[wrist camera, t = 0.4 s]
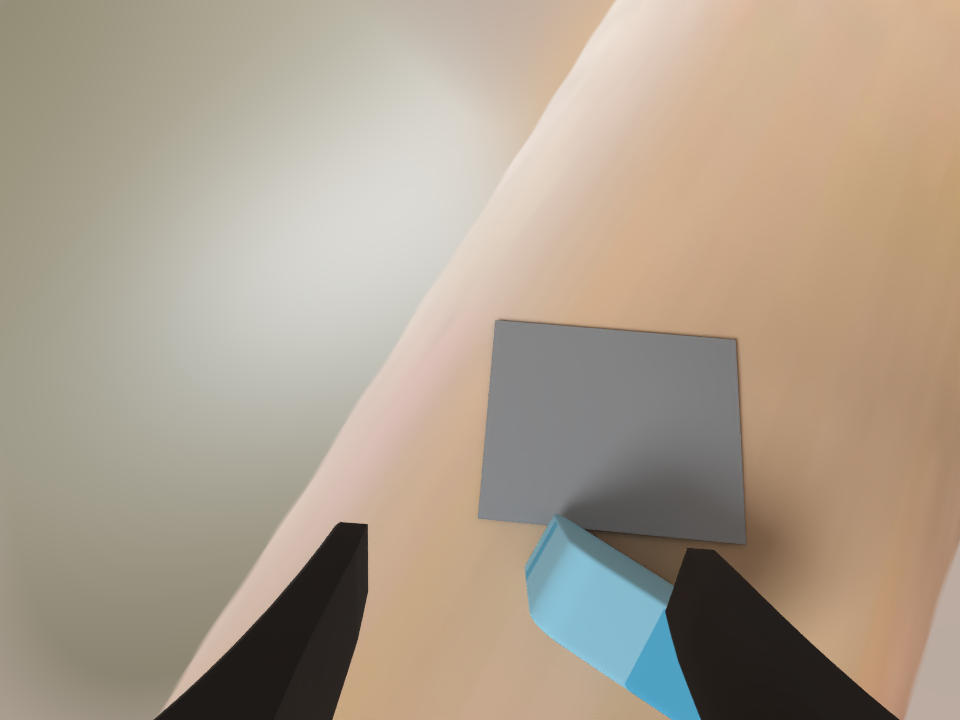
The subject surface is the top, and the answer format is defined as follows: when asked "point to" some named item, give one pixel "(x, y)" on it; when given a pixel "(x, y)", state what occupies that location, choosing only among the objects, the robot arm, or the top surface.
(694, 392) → the mat
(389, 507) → the top surface
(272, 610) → the robot arm
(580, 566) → the blue square block
